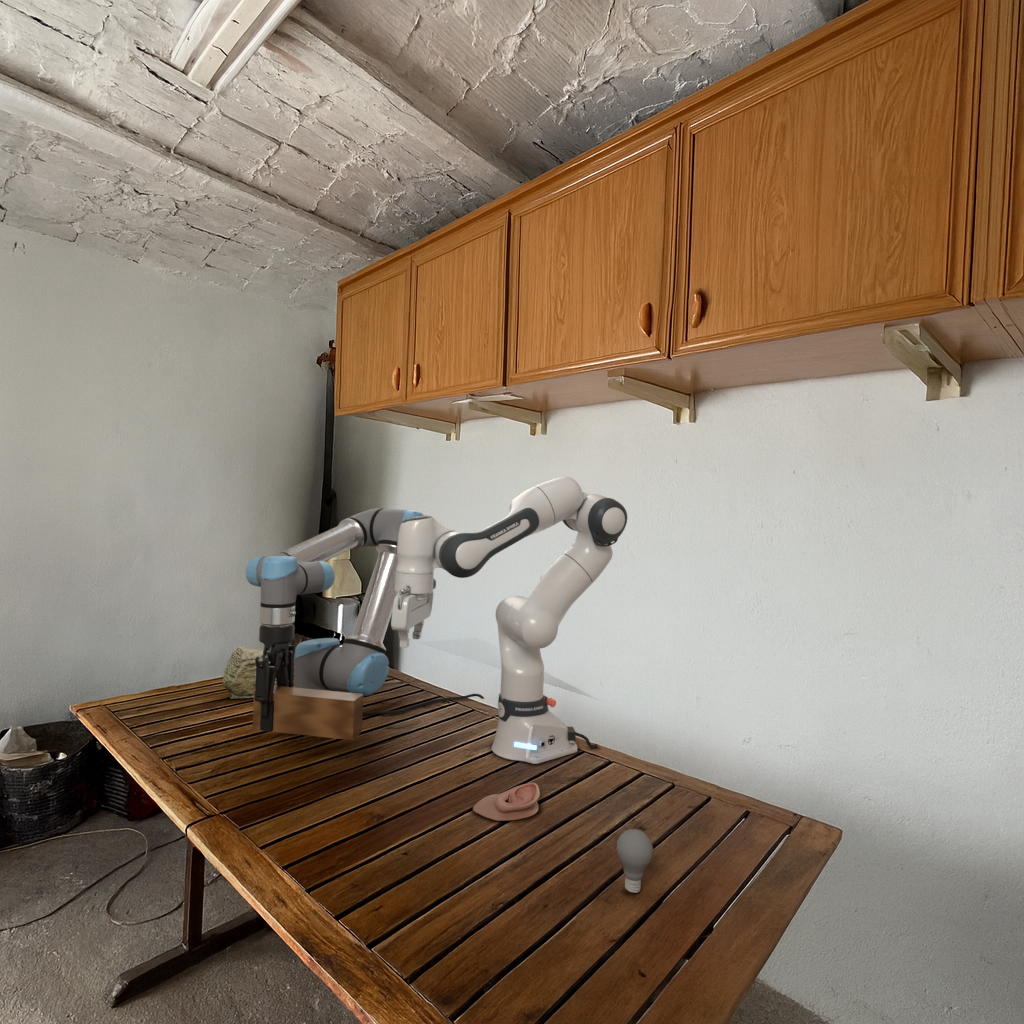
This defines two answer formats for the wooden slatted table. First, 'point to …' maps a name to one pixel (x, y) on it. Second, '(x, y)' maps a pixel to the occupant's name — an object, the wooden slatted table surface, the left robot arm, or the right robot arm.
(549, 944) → the wooden slatted table surface
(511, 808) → the anatomical model
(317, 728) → the bar
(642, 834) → the light bulb
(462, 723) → the wooden slatted table surface
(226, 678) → the fossil
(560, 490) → the right robot arm
